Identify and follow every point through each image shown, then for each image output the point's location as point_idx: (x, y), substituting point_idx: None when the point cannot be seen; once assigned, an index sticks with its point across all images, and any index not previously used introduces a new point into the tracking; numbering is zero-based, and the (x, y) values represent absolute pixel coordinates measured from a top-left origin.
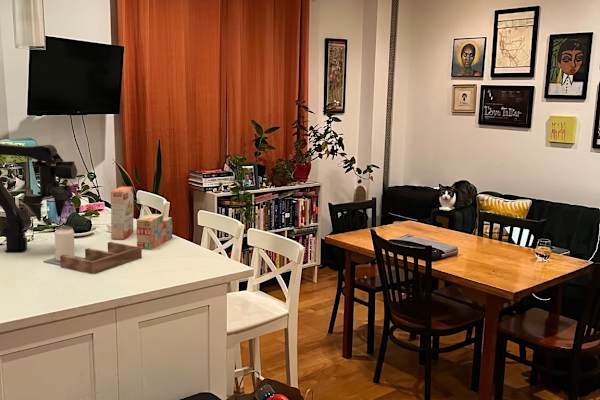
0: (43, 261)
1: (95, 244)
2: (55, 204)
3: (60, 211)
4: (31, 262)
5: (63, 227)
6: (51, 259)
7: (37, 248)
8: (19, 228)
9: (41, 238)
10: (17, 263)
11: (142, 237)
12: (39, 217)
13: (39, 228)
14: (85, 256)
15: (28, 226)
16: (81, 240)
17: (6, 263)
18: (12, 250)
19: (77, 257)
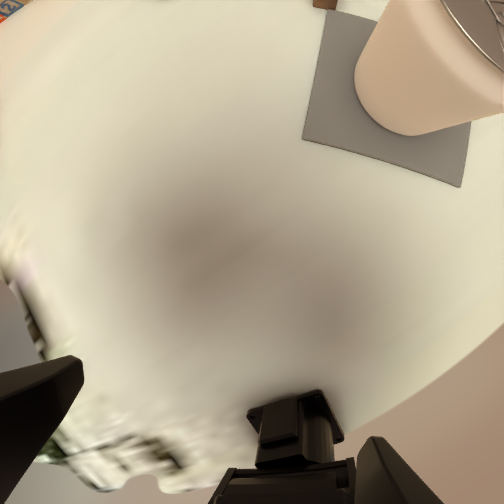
0: (459, 185)
1: (63, 151)
2: (9, 490)
3: (34, 383)
4: (472, 241)
5: (474, 31)
6: (426, 161)
7: (233, 371)
8: (353, 487)
9: (105, 418)
10: (490, 289)
11: None
12: (408, 465)
13: (48, 448)
14: (336, 1)
15: (260, 483)
16: (42, 260)
17: (492, 330)
18: (331, 426)
19: (338, 48)
